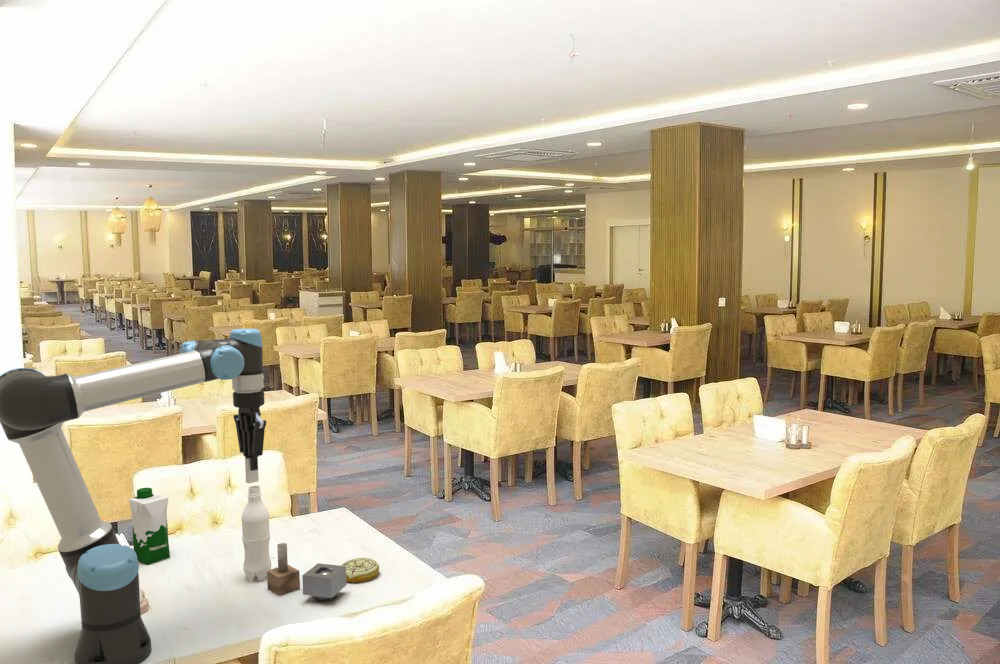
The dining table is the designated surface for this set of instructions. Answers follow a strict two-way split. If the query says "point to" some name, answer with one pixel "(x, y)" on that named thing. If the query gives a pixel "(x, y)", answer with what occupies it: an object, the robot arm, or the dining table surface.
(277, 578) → the stand
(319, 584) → the square steel tube
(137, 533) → the milk carton
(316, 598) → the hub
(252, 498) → the water bottle
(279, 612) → the dining table surface
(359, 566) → the decorated donut
